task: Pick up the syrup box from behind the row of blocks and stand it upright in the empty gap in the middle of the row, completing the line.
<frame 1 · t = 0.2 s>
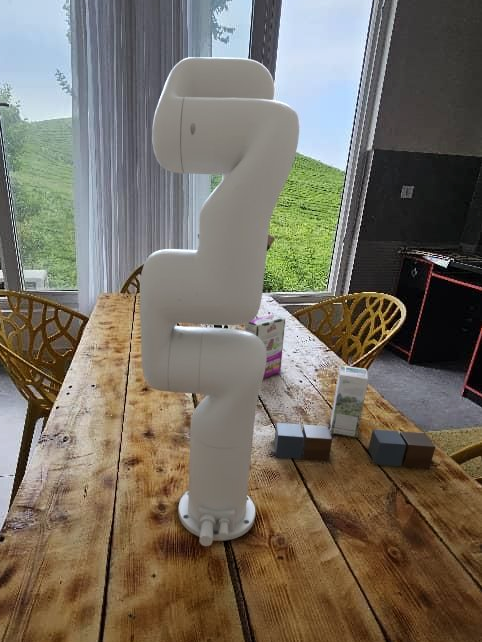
hand: (233, 272, 103), 31 cm above the table, tool pointing down, fingers open, 9 cm apart
walnut block 1: (412, 460, 89), on the table
candy bar box: (261, 375, 126), on the table
walnut block 3: (314, 452, 90), on the table
syrup box: (343, 430, 99), on the table
slate block 4: (286, 450, 91), on the table
slate block 2: (384, 458, 90), on the table
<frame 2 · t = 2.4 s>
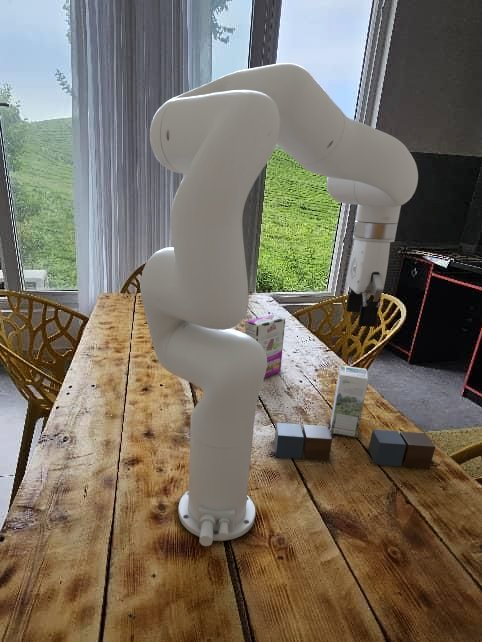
hand: (359, 318, 90), 26 cm above the table, tool pointing down, fingers open, 9 cm apart
nothing on the table moved.
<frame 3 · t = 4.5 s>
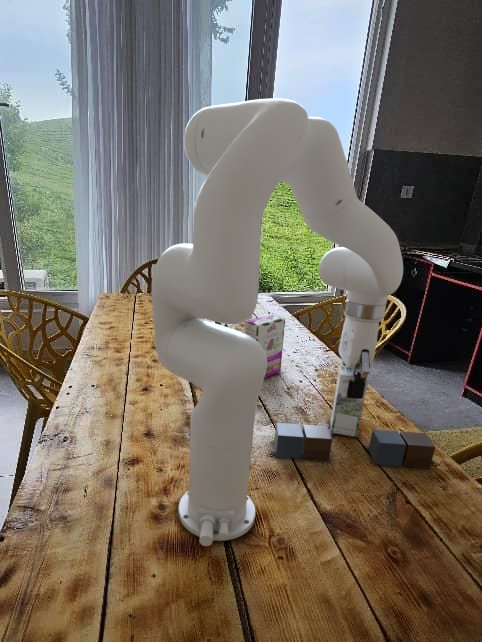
hand: (350, 389, 95), 10 cm above the table, tool pointing down, fingers closed on syrup box, 6 cm apart
syrup box: (343, 430, 99), on the table, touching gripper
everything else where it was.
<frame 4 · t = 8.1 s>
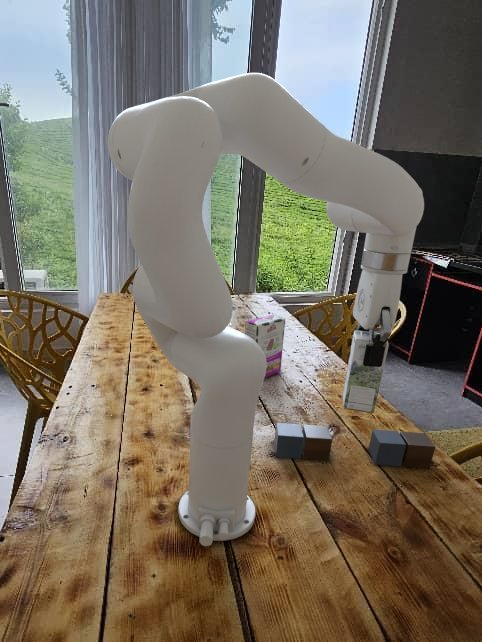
hand: (366, 357, 82), 21 cm above the table, tool pointing down, fingers closed on syrup box, 6 cm apart
syrup box: (357, 406, 86), point 11 cm above the table, touching gripper
everything else where it was.
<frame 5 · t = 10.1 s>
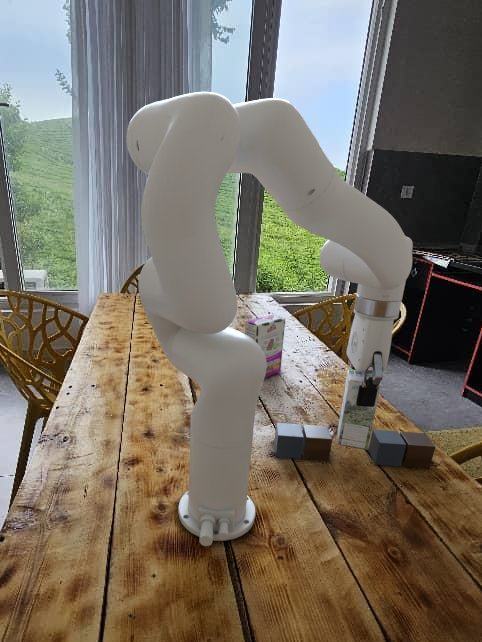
hand: (360, 396, 85), 13 cm above the table, tool pointing down, fingers closed on syrup box, 6 cm apart
syrup box: (351, 442, 89), point 3 cm above the table, touching gripper
everything else where it was.
when the fingers open (10 cm above the table, at t = 11.7 s): syrup box stays where it is, on the table.
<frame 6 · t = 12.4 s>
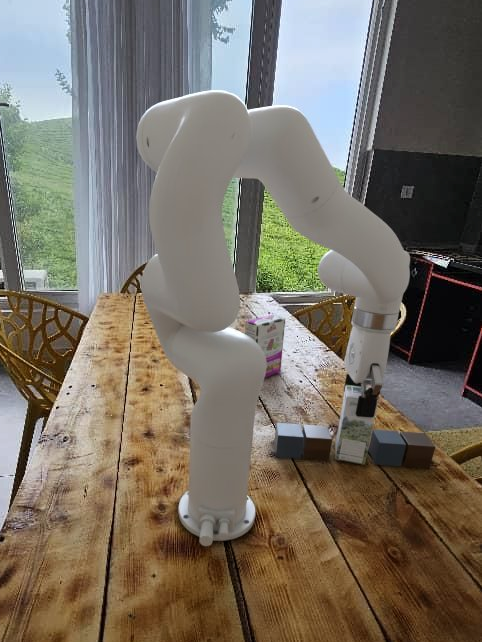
hand: (357, 404, 85), 12 cm above the table, tool pointing down, fingers open, 9 cm apart
syrup box: (349, 456, 90), on the table
everything else where it was.
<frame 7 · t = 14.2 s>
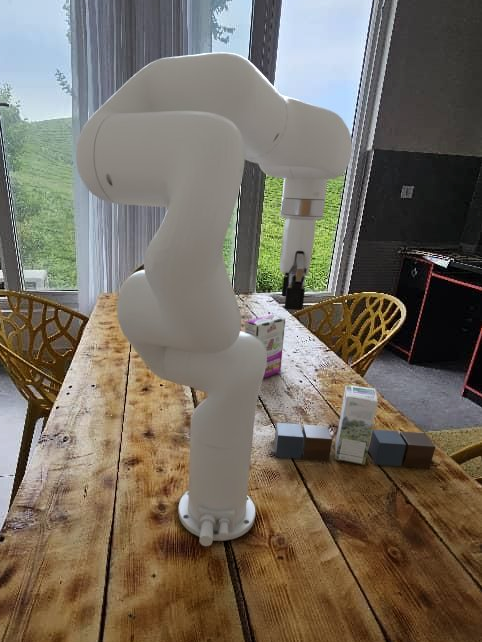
hand: (291, 302, 86), 29 cm above the table, tool pointing down, fingers open, 9 cm apart
nothing on the table moved.
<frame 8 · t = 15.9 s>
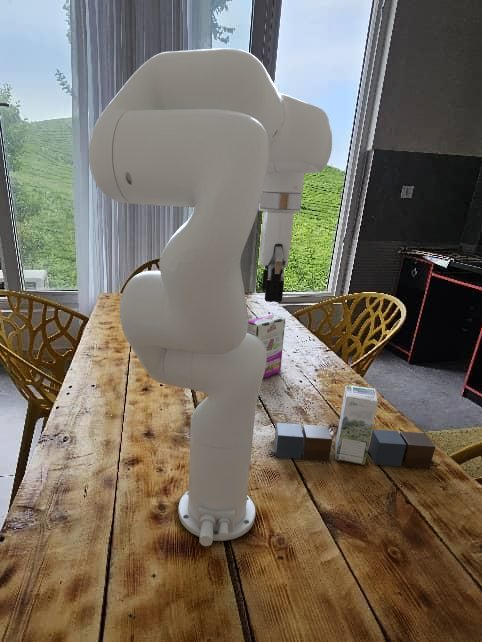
hand: (271, 295, 87), 30 cm above the table, tool pointing down, fingers open, 9 cm apart
nothing on the table moved.
at the end: syrup box 0.1 cm from the target spot, on the table; syrup box tilted 0°; slate block 2 moved 0.0 cm from its start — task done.
